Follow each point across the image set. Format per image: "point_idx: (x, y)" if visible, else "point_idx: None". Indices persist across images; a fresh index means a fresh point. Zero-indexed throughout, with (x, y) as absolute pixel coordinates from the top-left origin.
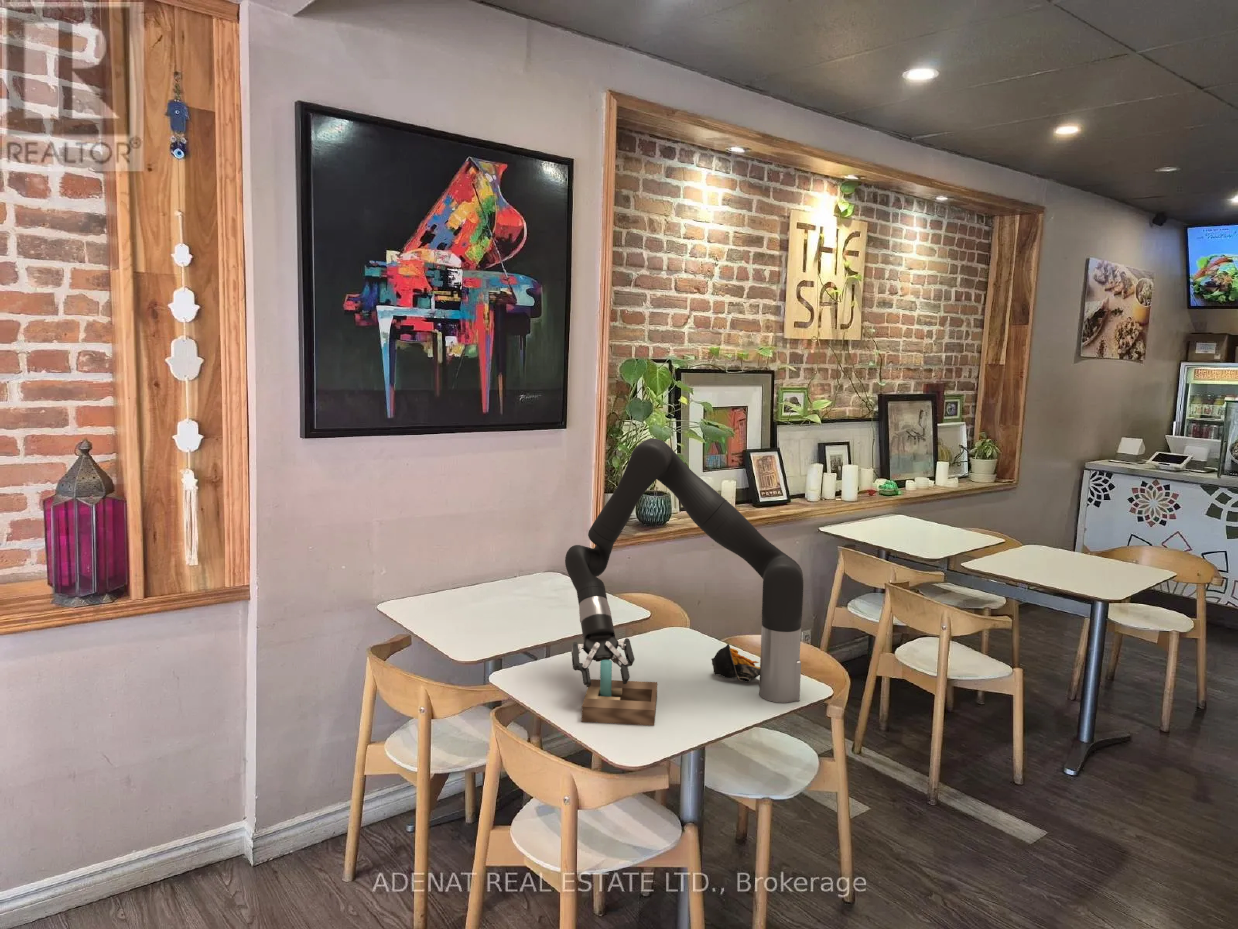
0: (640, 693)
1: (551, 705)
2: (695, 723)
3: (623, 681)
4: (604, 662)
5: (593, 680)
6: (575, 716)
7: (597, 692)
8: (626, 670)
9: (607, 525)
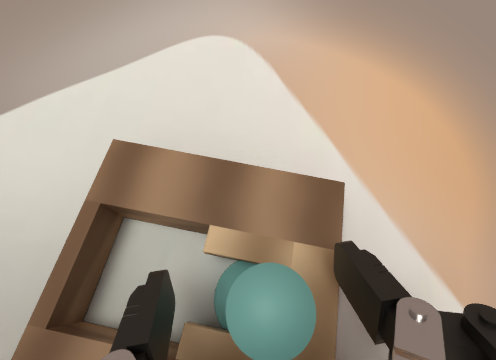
0: (105, 336)
1: None
2: (14, 166)
3: (171, 294)
4: (285, 292)
5: None
6: (348, 238)
7: None
8: (130, 326)
9: None
